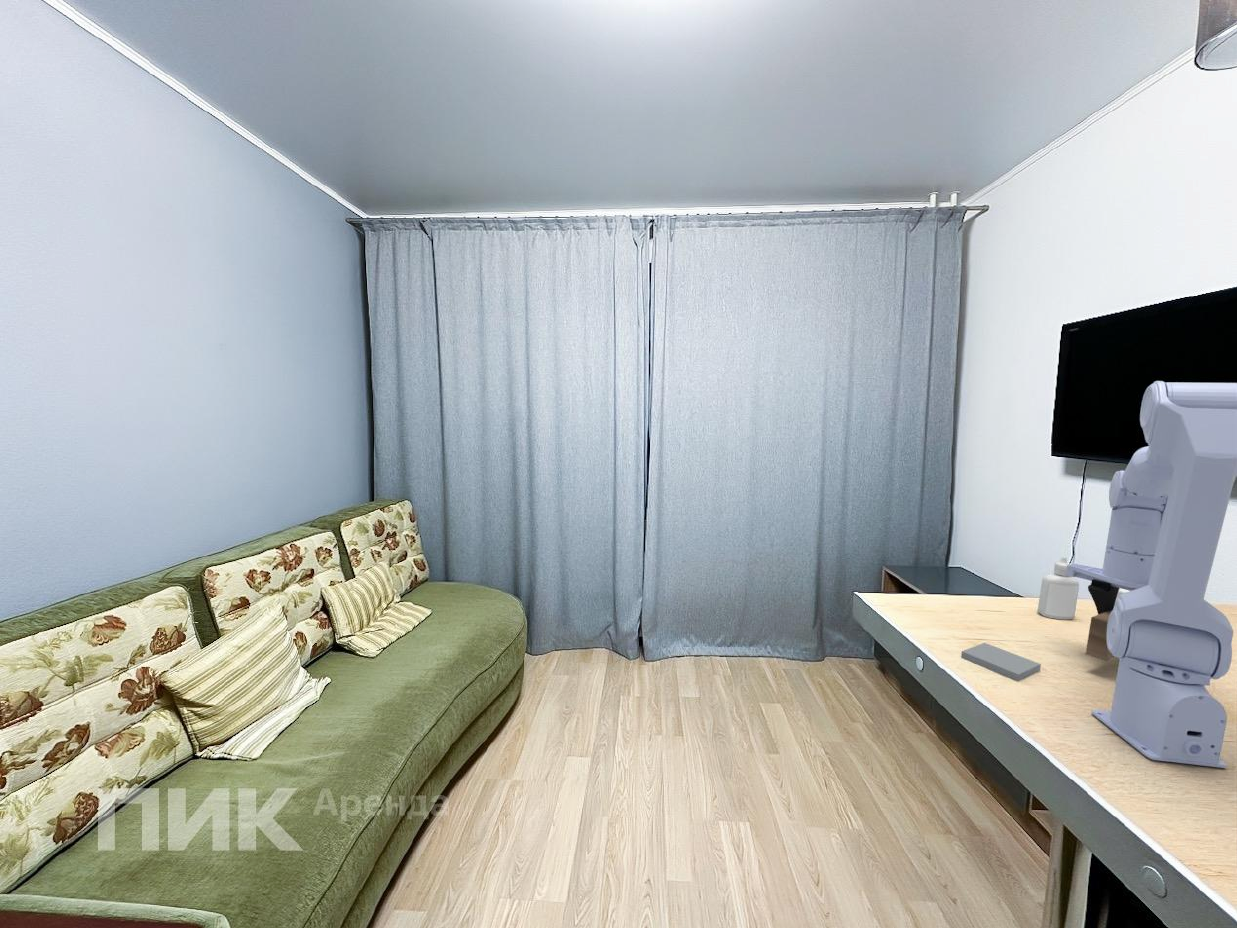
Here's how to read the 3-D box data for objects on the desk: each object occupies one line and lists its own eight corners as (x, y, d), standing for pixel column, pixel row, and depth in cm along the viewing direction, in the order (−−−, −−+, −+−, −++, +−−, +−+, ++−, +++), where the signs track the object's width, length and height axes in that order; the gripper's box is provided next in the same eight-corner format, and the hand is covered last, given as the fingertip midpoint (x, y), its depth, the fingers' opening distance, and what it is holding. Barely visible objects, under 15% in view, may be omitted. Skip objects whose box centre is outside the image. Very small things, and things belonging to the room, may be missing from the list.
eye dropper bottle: (1074, 623, 100) (1084, 563, 98) (1037, 615, 103) (1045, 556, 102) (1073, 616, 103) (1082, 558, 101) (1037, 608, 106) (1045, 552, 105)
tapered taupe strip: (1105, 660, 79) (1111, 623, 78) (1085, 653, 81) (1091, 617, 81) (1141, 643, 86) (1148, 608, 85) (1122, 637, 88) (1128, 603, 87)
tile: (1041, 664, 81) (1018, 674, 78) (1039, 673, 81) (1017, 684, 78) (984, 642, 88) (961, 651, 85) (983, 651, 88) (960, 660, 85)
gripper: (1207, 560, 77) (1191, 647, 79) (1084, 536, 90) (1072, 611, 92) (1190, 566, 74) (1174, 657, 76) (1065, 540, 86) (1053, 618, 88)
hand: (1117, 632), depth 83 cm, fingers closed on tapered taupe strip, 2 cm apart
